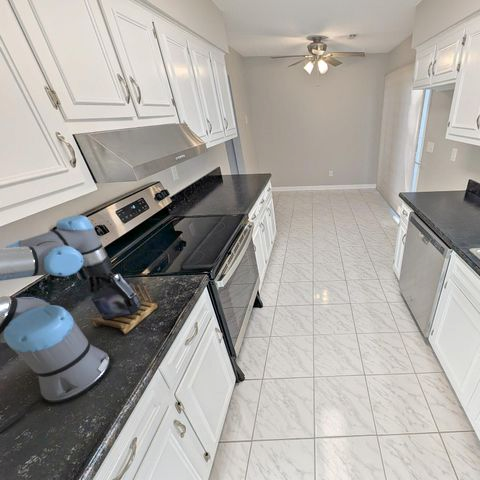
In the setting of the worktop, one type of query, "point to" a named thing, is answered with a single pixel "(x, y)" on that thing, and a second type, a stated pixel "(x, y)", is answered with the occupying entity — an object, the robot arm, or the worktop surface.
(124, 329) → the dish rack
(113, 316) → the small box
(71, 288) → the worktop surface
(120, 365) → the worktop surface
